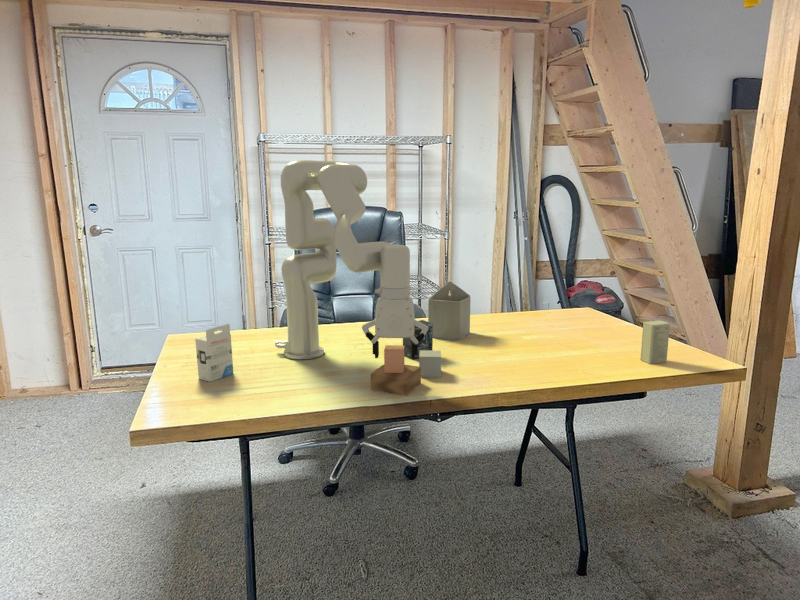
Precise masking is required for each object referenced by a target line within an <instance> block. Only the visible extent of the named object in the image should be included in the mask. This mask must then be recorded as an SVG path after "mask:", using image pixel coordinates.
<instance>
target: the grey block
mask: <svg viewBox="0 0 800 600" xmlns="http://www.w3.org/2000/svg"><path fill="white" fill-rule="evenodd" d="M418 359H419V361H418V362H419V363H418V364H419V365H418V366H419V367H421V378H441V377H442V351H441V350H433V349H432V350H420V354H419V358H418Z"/></svg>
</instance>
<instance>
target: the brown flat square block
mask: <svg viewBox="0 0 800 600" xmlns="http://www.w3.org/2000/svg"><path fill="white" fill-rule="evenodd" d="M421 384H422V377H421V367H419V365H411V364H404V373H384V364H382V365H381V366H379V367H377V368H376V369H375V370H373V371H372V372H371V373H370V391H374V392H378V393H379V392H380V393H386V394H393V395H398V396H405V397H407V396H408V395H410V394H411V393H412V391H414V390H415V389H416V388H417V387H419V386H420V385H421Z"/></svg>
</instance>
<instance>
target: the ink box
mask: <svg viewBox="0 0 800 600" xmlns="http://www.w3.org/2000/svg"><path fill="white" fill-rule="evenodd" d="M194 341H195V348H196V349H195V351H196V353H195V354H196V362H197V363H196V364H197V375H198V380H202V381H206V382H208V383H209V382H211V383H212V382H214V381H216V380H218V379H219V380H220V379H222V378H224V377H227V376H230V375H232V374H234V363H233V362H234V361H233V349H232V347H233V346H232V334H231V327H230V324H229V323H226V324H223V325H218V326H215V327H212V328H207V329H206V330H205V335H204V336H201V337H196V338H195V339H194Z"/></svg>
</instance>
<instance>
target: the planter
mask: <svg viewBox="0 0 800 600" xmlns="http://www.w3.org/2000/svg"><path fill="white" fill-rule="evenodd" d="M449 294H450V295H449ZM427 302H428V303H427V307H428V309H427V310H428V311H427V314H428V315H427V322H430V323H433V339H441V340H450V341H451V340H453V341H460V340H461V339H463V338H465V337H467V336H468V335H469V334H470V333H471V295H470V294H469V293H467V292H466V291H465V290H463V289H462V288H461V287H459V286H458V285H457V284H455V283H453V282H452V281H450V280H449V281H448V282H446V283H445V284H444V285H442V287H440V288H439V289H438V290H437V291H435V293H433V294H432V296H430V297H429V298H428V301H427Z"/></svg>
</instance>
